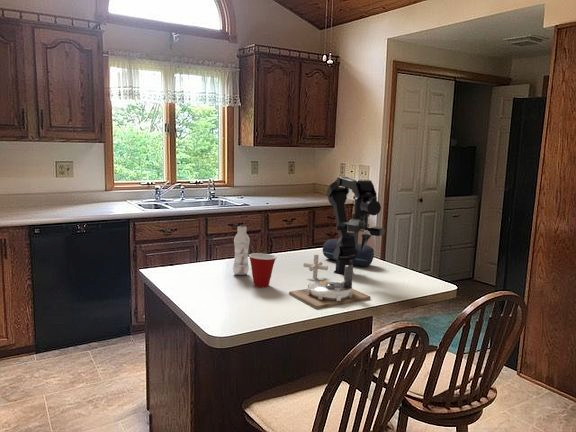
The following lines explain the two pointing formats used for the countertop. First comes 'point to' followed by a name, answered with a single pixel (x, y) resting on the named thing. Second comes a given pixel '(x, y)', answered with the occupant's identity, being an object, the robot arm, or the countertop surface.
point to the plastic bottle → (241, 251)
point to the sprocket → (333, 288)
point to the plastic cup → (262, 268)
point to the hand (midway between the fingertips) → (358, 249)
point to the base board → (319, 303)
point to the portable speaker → (362, 257)
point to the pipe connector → (315, 266)
